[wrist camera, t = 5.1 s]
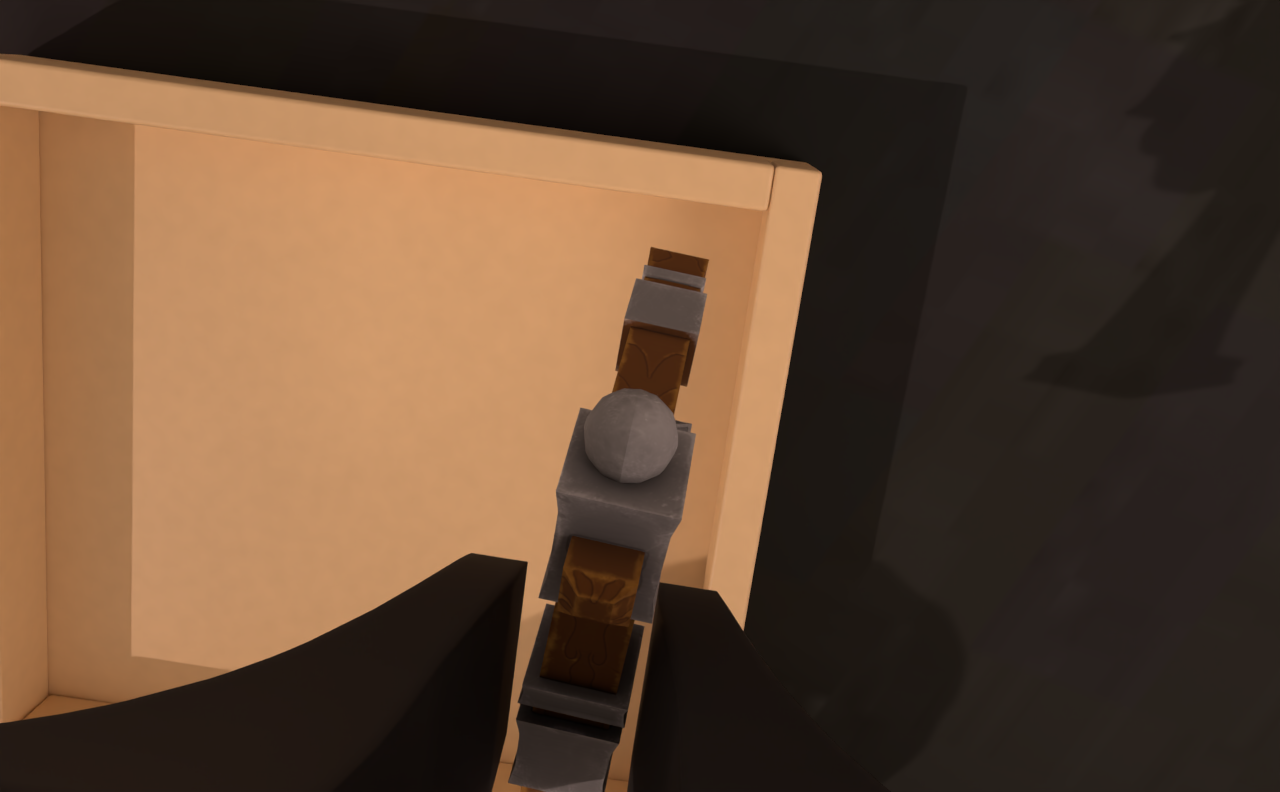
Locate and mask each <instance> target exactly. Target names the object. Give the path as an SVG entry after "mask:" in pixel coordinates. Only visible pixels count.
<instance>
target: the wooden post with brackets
mask: <svg viewBox="0 0 1280 792" xmlns="http://www.w3.org/2000/svg"><path fill="white" fill-rule="evenodd" d="M708 262H709V259H704V258H700V257H695V256H690V255H686V254H681V253H677V252H672V251H668V250H663V249H658V248H654V247H651V248H650V254H649V259H648V264H647V265H644V270H643V275H642V279H638V278H636V280H635V284H634V287H633V291H632V294H631V297H630V301H629V304H628V308H627V311H626V314H625V318H624V323H623V329H622V334H621V340H620V346H619V352H618V357H617V363H616V369H615V371H618V373H617V376H616V380H615V383H614V387H613V390H612V393H610V394H608V395H606V396H604V397H602V398H601V400H600V401H599V402H598V403H597V405H596V406H595V407H594V408H593V410H589V409H585V408H580V410H579V414H578V417H577V420H576V424H575V427H574V431H573V434H572V438H571V441H570V444H569V448H568V451H567V455H566V458H565V461H564V465H563V468H562V472H561V475H560V479H559V482H558V485H557V489H556V499H557V507H558V515H557V521H556V527H555V533H554V539H553V545H552V550H551V554H550V558H549V561H548V565H547V568H546V572H545V575H544V579H543V583H542V586H541V590H540V593H539V597H538V598H540V599H545V600H549V601H554V602H555V605H551V604H547V603H546V606H545V609H544V613H543V616H542V620H541V623H540V626H539V630H538V633H537V636H536V640H535V643H534V647H533V650H532V653H531V657H530V660H529V663H528V667H527V670H526V674H525V677H524V680H523V684H522V689H521V692H520V696H519V699H518V703H519V704H520V707H519V710H518V714H517V717H516V723H517V726H518V730H519V741H518V748H517V752H516V756H515V759H514V763H513V766H512V770H511V773H510V777H509V780H508V783H510V784H515V785H519V786H521V790H520V792H605V789H606V784H607V779H608V774H609V769H610V764H611V759H612V755H613V752H614V750H615V749H616V748H617V746H618V745H619V743H620V738H621V733H622V728H625V723H626V718H627V713H628V708H629V703H630V698H631V693H632V688H633V683H634V678H635V673H636V668H637V663H638V658H639V653H640V648H641V643H642V637H643V632H644V627H645V626H642V625H638V624H634V621H635V620H637V621H642V622H646V623H650V624H652V622H653V617H654V611H655V605H656V600H657V594H658V588H659V583H660V577H661V571H662V568H663V564H664V560H665V557H666V553H667V550H668V546H669V542H670V539H671V537H672V535H673V533H674V532H675V530H676V528H677V527H678V525H679V524H680V522H681V520H682V515H683V509H684V503H685V497H686V491H687V485H688V479H689V473H690V467H691V461H692V455H693V449H694V443H695V437H696V434H695V433H691V428H692V424H690V423H686V422H681V421H677V420H675V418H674V413H675V408H676V403H677V398H678V394H679V389H680V385H681V386H685V387H687V385H688V380H689V376H690V372H691V367H692V363H693V359H694V354H695V350H696V346H697V341H698V337H699V332H700V327H701V322H702V317H703V312H704V307H705V302H706V298H707V294H706V293H703V291H704V287H705V282H706V278H705V276H706V271H707V267H708Z"/></svg>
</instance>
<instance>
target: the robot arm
mask: <svg viewBox="0 0 1280 792" xmlns="http://www.w3.org/2000/svg"><path fill="white" fill-rule="evenodd" d="M527 565H528V562H527V561H520V560H514V559H507V558H501V557H495V556H488V555H482V554H475V553H470V554H467V555H465V556H463V557H462V558H460V559H458V560H456V561H455V562H453V563H451V564H450V565H448V566H446V567H445V568H443V569H441V570H440V571H438V572H436V573H435V574H433V575H431V576H430V577H428V578H426V579H425V580H423V581H422V582H420V583H418V584H416V585H415V586H413V587H411V588H410V589H408V590H406V591H404V592H403V593H401V594H399V595H397V596H396V597H394V598H392V599H391V600H389V601H387V602H385V603H384V604H382V605H380V606H378V607H377V608H375V609H373V610H371V611H369V612H367V613H365V614H363V615H361V616H359V617H357V618H355V619H353V620H351V621H349V622H347V623H345V624H343V625H341V626H339V627H337V628H335V629H333V630H331V631H329V632H327V633H325V634H323V635H321V636H319V637H316V638H314V639H312V640H310V641H308V642H306V643H304V644H301V645H299V646H297V647H294V648H292V649H290V650H287V651H285V652H282V653H280V654H277V655H275V656H272V657H270V658H267V659H264V660H262V661H259V662H256V663H253V664H250V665H248V666H245V667H242V668H239V669H237V670H234V671H231V672H228V673H225V674H222V675H219V676H216V677H213V678H210V679H206V680H202V681H198V682H195V683H191V684H187V685H183V686H180V687H176V688H172V689H168V690H165V691H161V692H157V693H153V694H150V695H146V696H142V697H138V698H135V699H131V700H127V701H123V702H118V703H114V704H109V705H104V706H99V707H94V708H89V709H84V710H79V711H73V712H68V713H63V714H57V715H51V716H44V717H38V718H32V719H25V720H19V721H13V722H6V723H0V792H492V789H493V785H494V781H495V778H496V774H497V770H498V766H499V762H500V758H501V754H502V750H503V746H504V742H505V738H506V734H507V728H508V720H509V712H510V703H511V695H512V687H513V679H514V671H515V663H516V655H517V647H518V638H519V630H520V622H521V614H522V606H523V598H524V590H525V581H526V573H527ZM627 792H891V791H889V790H888V789H887V788H886V787H884V786H883V785H882V784H881V783H880V782H878V781H877V780H876V779H875V778H874V777H873V776H872V775H870V774H869V773H868V772H867V771H866V770H865V769H864V768H863V767H861V766H860V765H859V764H858V763H857V762H856V761H855V760H854V759H852V758H851V757H850V756H849V755H848V754H847V753H846V752H845V751H843V750H842V749H841V748H840V747H839V746H838V745H837V744H836V743H835V742H834V741H833V740H832V739H831V738H830V737H829V736H828V735H827V734H826V733H825V732H824V731H823V730H822V729H821V728H820V727H819V726H818V725H817V724H816V723H815V721H814V720H813V719H812V718H811V717H810V716H809V715H808V714H807V713H806V711H805V710H804V709H803V708H802V707H801V706H800V705H799V704H798V703H797V702H796V700H795V699H794V698H793V697H792V696H791V695H790V693H789V692H788V691H787V690H786V689H785V687H784V686H783V685H782V684H781V683H780V681H779V680H778V679H777V678H776V676H775V675H774V674H773V672H772V671H771V670H770V668H769V667H768V666H767V664H766V663H765V662H764V660H763V659H762V657H761V656H760V655H759V653H758V652H757V650H756V649H755V647H754V646H753V644H752V643H751V641H750V640H749V639H748V637H747V636H746V634H745V633H744V631H743V630H742V628H741V626H740V625H739V623H738V622H737V620H736V619H735V617H734V616H733V614H732V612H731V611H730V609H729V608H728V606H727V605H726V603H725V602H724V600H723V599H722V597H721V596H720V595H719V593H718V592H717V591H713V590H707V589H700V588H694V587H687V586H681V585H674V584H668V583H662V582H660V583H659V588H658V594H657V600H656V606H655V612H654V618H653V624H652V631H651V637H650V643H649V650H648V656H647V662H646V668H645V675H644V681H643V687H642V694H641V700H640V706H639V712H638V719H637V725H636V731H635V738H634V744H633V750H632V757H631V765H630V773H629V780H628V788H627Z"/></svg>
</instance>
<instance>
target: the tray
mask: <svg viewBox="0 0 1280 792" xmlns="http://www.w3.org/2000/svg"><path fill="white" fill-rule="evenodd" d="M821 179H822V173H821V172H820V171H819V170H817V169H816V168H814V167H813V166H811V165H810V164H808V163H805V162H798V161H790V160H783V159H776V158H769V157H761V156H754V155H747V154H739V153H732V152H725V151H718V150H710V149H703V148H696V147H688V146H681V145H674V144H667V143H659V142H652V141H645V140H637V139H630V138H623V137H616V136H608V135H601V134H594V133H586V132H579V131H572V130H565V129H557V128H550V127H543V126H535V125H528V124H521V123H514V122H506V121H499V120H492V119H484V118H477V117H470V116H463V115H455V114H448V113H441V112H433V111H426V110H419V109H412V108H404V107H397V106H390V105H382V104H375V103H368V102H361V101H353V100H346V99H339V98H331V97H324V96H317V95H310V94H302V93H295V92H288V91H280V90H273V89H266V88H259V87H251V86H244V85H237V84H229V83H222V82H215V81H208V80H200V79H193V78H186V77H178V76H171V75H164V74H157V73H149V72H142V71H135V70H127V69H120V68H113V67H106V66H98V65H91V64H84V63H76V62H69V61H62V60H55V59H47V58H40V57H33V56H25V55H13V54H0V723H6V722H13V721H19V720H25V719H32V718H38V717H44V716H51V715H57V714H63V713H68V712H73V711H79V710H84V709H89V708H94V707H99V706H104V705H109V704H114V703H118V702H123V701H127V700H131V699H135V698H138V697H142V696H146V695H150V694H153V693H157V692H161V691H165V690H168V689H172V688H176V687H180V686H183V685H187V684H191V683H195V682H198V681H202V680H206V679H210V678H213V677H216V676H219V675H222V674H225V673H228V672H231V671H234V670H237V669H239V668H242V667H245V666H248V665H250V664H253V663H256V662H259V661H262V660H264V659H267V658H270V657H272V656H275V655H277V654H280V653H282V652H285V651H287V650H290V649H292V648H294V647H297V646H299V645H301V644H304V643H306V642H308V641H310V640H312V639H314V638H316V637H319V636H321V635H323V634H325V633H327V632H329V631H331V630H333V629H335V628H337V627H339V626H341V625H343V624H345V623H347V622H349V621H351V620H353V619H355V618H357V617H359V616H361V615H363V614H365V613H367V612H369V611H371V610H373V609H375V608H377V607H378V606H380V605H382V604H384V603H385V602H387V601H389V600H391V599H392V598H394V597H396V596H397V595H399V594H401V593H403V592H404V591H406V590H408V589H410V588H411V587H413V586H415V585H416V584H418V583H420V582H422V581H423V580H425V579H426V578H428V577H430V576H431V575H433V574H435V573H436V572H438V571H440V570H441V569H443V568H445V567H446V566H448V565H450V564H451V563H453V562H455V561H456V560H458V559H460V558H462V557H463V556H465V555H467V554H470V553H475V554H482V555H488V556H495V557H501V558H507V559H514V560H520V561H527V562H528V565H527V573H526V581H525V590H524V598H523V606H522V614H521V622H520V630H519V638H518V647H517V655H516V663H515V671H514V679H513V687H512V695H511V703H510V712H509V720H508V728H507V734H506V738H505V742H504V746H503V750H502V754H501V758H500V762H499V766H498V770H497V774H496V778H495V781H494V785H493V789H492V792H520V790H521V786H519V785H515V784H510V783H508V780H509V777H510V773H511V770H512V766H513V763H514V759H515V756H516V752H517V748H518V741H519V730H518V726H517V723H516V717H517V714H518V710H519V707H520V704H519V703H518V699H519V696H520V692H521V689H522V684H523V680H524V677H525V674H526V670H527V667H528V663H529V660H530V657H531V653H532V650H533V647H534V643H535V640H536V636H537V633H538V630H539V626H540V623H541V620H542V616H543V613H544V609H545V606H546V603H547V604H551V605H555V602H554V601H549V600H545V599H540V598H538V597H539V593H540V590H541V586H542V583H543V579H544V575H545V572H546V568H547V565H548V561H549V558H550V554H551V550H552V545H553V539H554V533H555V527H556V521H557V515H558V507H557V499H556V489H557V485H558V482H559V479H560V475H561V472H562V468H563V465H564V461H565V458H566V455H567V451H568V448H569V444H570V441H571V438H572V434H573V431H574V427H575V424H576V420H577V417H578V414H579V410H580V408H585V409H589V410H593V408H594V407H595V406H596V405H597V403H598V402H599V401H600V400H601V398H602V397H604V396H606V395H608V394H610V393H612V390H613V387H614V383H615V380H616V376H617V373H618V371H615V369H616V363H617V357H618V352H619V346H620V340H621V334H622V329H623V323H624V318H625V314H626V311H627V308H628V304H629V301H630V297H631V294H632V291H633V287H634V284H635V280H636V278H638V279H642V275H643V270H644V265H647V264H648V259H649V254H650V248H651V247H654V248H658V249H663V250H668V251H672V252H677V253H681V254H686V255H690V256H695V257H700V258H704V259H709V262H708V267H707V271H706V276H705V278H706V282H705V287H704V291H703V293H706V294H707V298H706V302H705V307H704V312H703V317H702V322H701V327H700V332H699V337H698V341H697V346H696V350H695V354H694V359H693V363H692V367H691V372H690V376H689V380H688V385H687V387H685V386H681V385H680V389H679V394H678V398H677V403H676V408H675V413H674V418H675V420H677V421H681V422H686V423H690V424H692V428H691V433H695V434H696V437H695V443H694V449H693V455H692V461H691V467H690V473H689V479H688V485H687V491H686V497H685V503H684V509H683V515H682V520H681V522H680V524H679V525H678V527H677V528H676V530H675V532H674V533H673V535H672V537H671V539H670V542H669V546H668V550H667V553H666V557H665V560H664V564H663V568H662V571H661V577H660V582H662V583H668V584H674V585H681V586H687V587H694V588H700V589H707V590H713V591H717V592H718V593H719V595H720V596H721V597H722V599H723V600H724V602H725V603H726V605H727V606H728V608H729V609H730V611H731V612H732V614H733V616H734V617H735V619H736V620H737V622H738V623H739V625H740V626H741V628H742V630H743V631H744V625H745V619H746V613H747V607H748V602H749V596H750V590H751V584H752V579H753V573H754V567H755V561H756V555H757V550H758V544H759V538H760V532H761V526H762V521H763V515H764V509H765V503H766V498H767V492H768V486H769V480H770V474H771V469H772V463H773V457H774V451H775V445H776V440H777V434H778V428H779V422H780V417H781V411H782V405H783V399H784V393H785V388H786V382H787V376H788V370H789V364H790V359H791V353H792V347H793V341H794V336H795V330H796V324H797V318H798V312H799V307H800V301H801V295H802V289H803V283H804V278H805V272H806V266H807V260H808V255H809V249H810V243H811V237H812V231H813V226H814V220H815V214H816V208H817V203H818V197H819V191H820V185H821ZM655 606H656V605H655ZM654 612H655V611H654ZM653 618H654V617H653ZM634 624H638V625H642V626H645V627H644V632H643V637H642V643H641V648H640V653H639V658H638V663H637V668H636V673H635V678H634V683H633V688H632V693H631V698H630V703H629V708H628V713H627V718H626V723H625V728H622V733H621V738H620V743H619V745H618V746H617V748H616V749H615V750H614V752H613V755H612V759H611V764H610V769H609V774H608V779H607V784H606V789H605V792H627V788H628V780H629V773H630V765H631V757H632V750H633V744H634V738H635V731H636V725H637V719H638V712H639V706H640V700H641V694H642V687H643V681H644V675H645V668H646V662H647V656H648V650H649V643H650V637H651V631H652V624H653V622H652V624H650V623H646V622H642V621H637V620H635V621H634Z"/></svg>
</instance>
